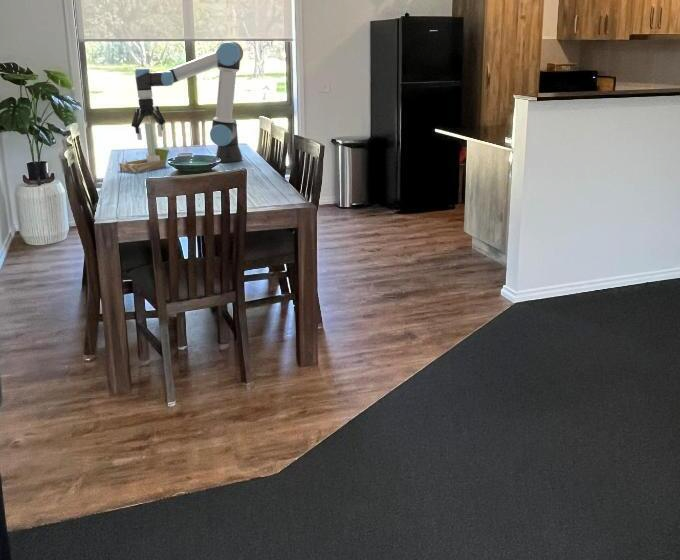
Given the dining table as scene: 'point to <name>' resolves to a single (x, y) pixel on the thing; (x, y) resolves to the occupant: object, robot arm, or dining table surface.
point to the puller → (150, 144)
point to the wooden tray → (141, 165)
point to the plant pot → (162, 154)
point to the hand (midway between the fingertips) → (150, 138)
